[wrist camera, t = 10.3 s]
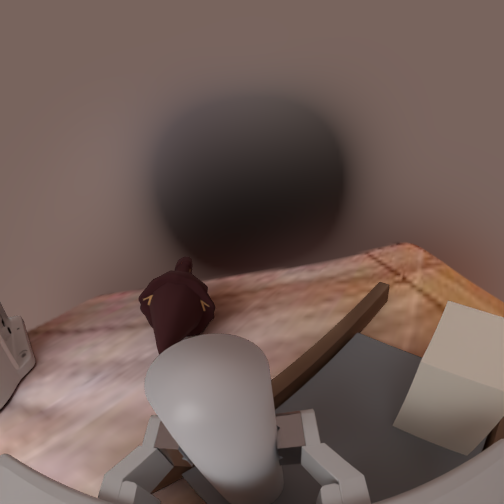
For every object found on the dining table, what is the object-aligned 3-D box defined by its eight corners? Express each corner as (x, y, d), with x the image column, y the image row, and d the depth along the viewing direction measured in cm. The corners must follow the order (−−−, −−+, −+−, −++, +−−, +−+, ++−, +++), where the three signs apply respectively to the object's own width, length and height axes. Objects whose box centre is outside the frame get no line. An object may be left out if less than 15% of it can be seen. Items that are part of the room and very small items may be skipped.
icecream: (214, 317, 18) (219, 252, 32) (109, 305, 17) (157, 246, 31) (210, 390, 19) (215, 305, 34) (121, 378, 19) (157, 299, 33)
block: (392, 425, 12) (420, 361, 10) (426, 366, 16) (448, 300, 13) (467, 455, 8) (518, 395, 6) (489, 389, 11) (523, 323, 9)
